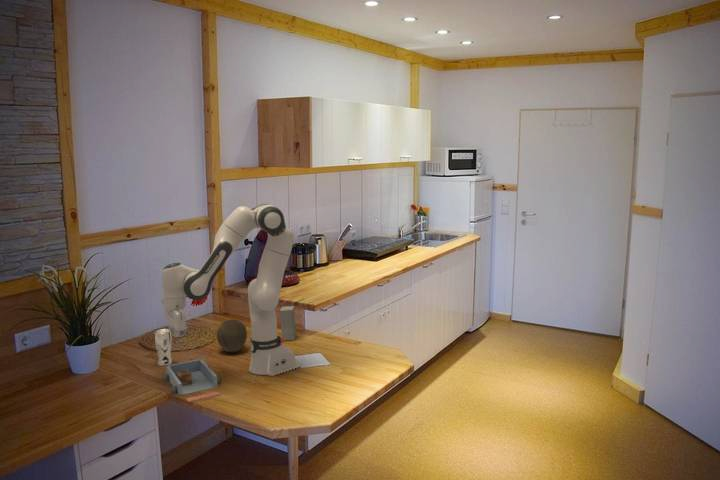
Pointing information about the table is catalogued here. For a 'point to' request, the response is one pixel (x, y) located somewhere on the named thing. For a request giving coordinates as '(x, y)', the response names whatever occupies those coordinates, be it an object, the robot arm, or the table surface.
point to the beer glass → (163, 346)
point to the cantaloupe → (232, 335)
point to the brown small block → (184, 377)
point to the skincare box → (288, 323)
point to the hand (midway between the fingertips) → (176, 335)
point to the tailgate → (202, 396)
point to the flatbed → (200, 377)
